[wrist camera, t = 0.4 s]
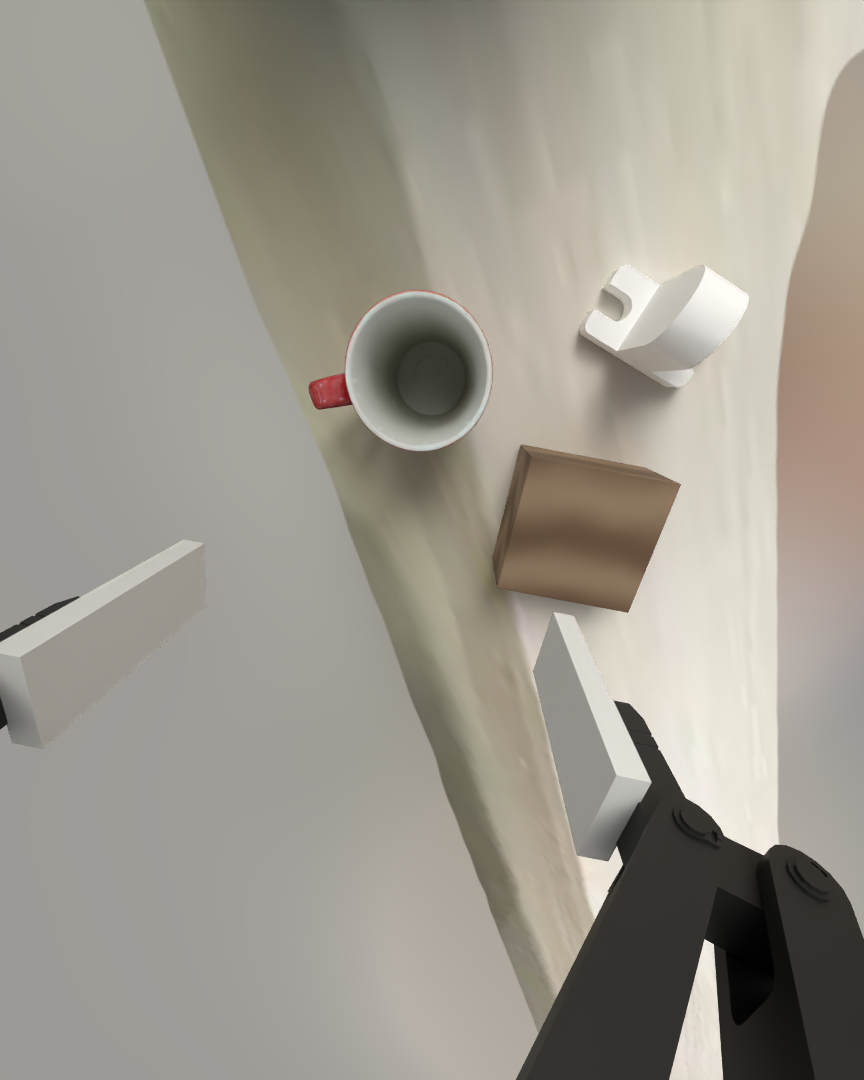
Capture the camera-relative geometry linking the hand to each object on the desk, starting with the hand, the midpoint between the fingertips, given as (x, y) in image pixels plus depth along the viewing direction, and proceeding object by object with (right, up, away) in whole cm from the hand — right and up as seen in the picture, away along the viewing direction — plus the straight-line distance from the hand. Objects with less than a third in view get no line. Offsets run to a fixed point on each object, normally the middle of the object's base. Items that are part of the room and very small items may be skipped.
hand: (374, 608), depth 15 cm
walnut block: (+16, +5, +26) cm, 30 cm away
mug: (+1, +17, +22) cm, 28 cm away
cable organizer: (+20, +20, +19) cm, 35 cm away
